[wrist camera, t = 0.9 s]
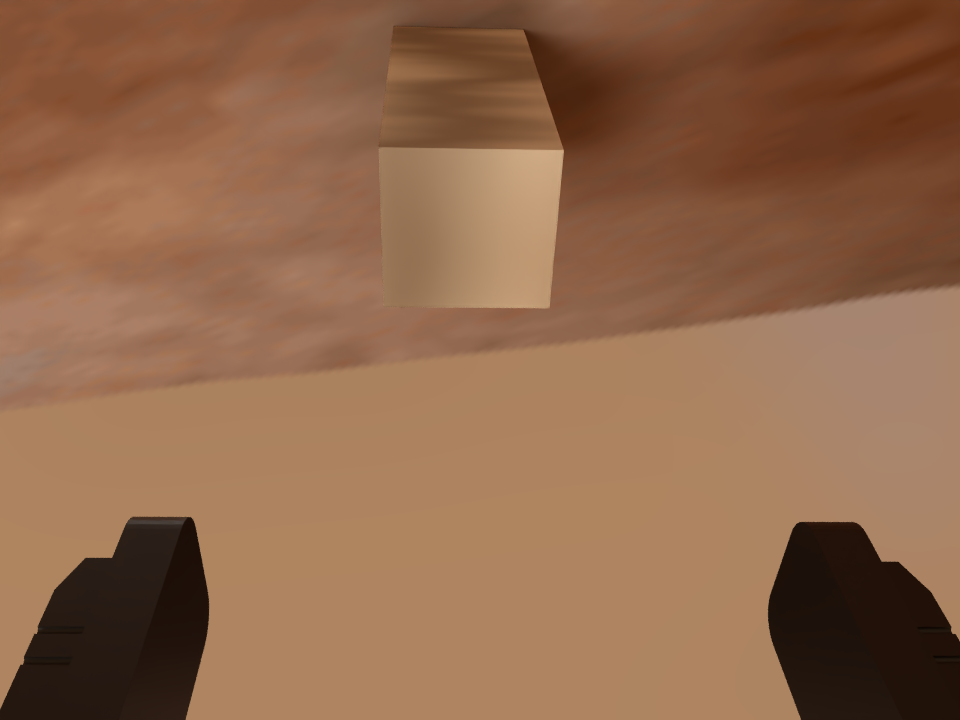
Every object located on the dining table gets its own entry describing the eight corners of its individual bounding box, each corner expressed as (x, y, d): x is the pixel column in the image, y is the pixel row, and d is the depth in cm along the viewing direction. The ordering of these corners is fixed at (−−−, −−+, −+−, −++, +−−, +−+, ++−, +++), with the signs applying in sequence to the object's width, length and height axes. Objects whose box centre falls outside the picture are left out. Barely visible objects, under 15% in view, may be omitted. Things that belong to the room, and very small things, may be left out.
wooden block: (523, 29, 28) (563, 149, 19) (516, 152, 30) (549, 308, 22) (393, 26, 27) (378, 147, 19) (396, 151, 30) (383, 307, 21)
